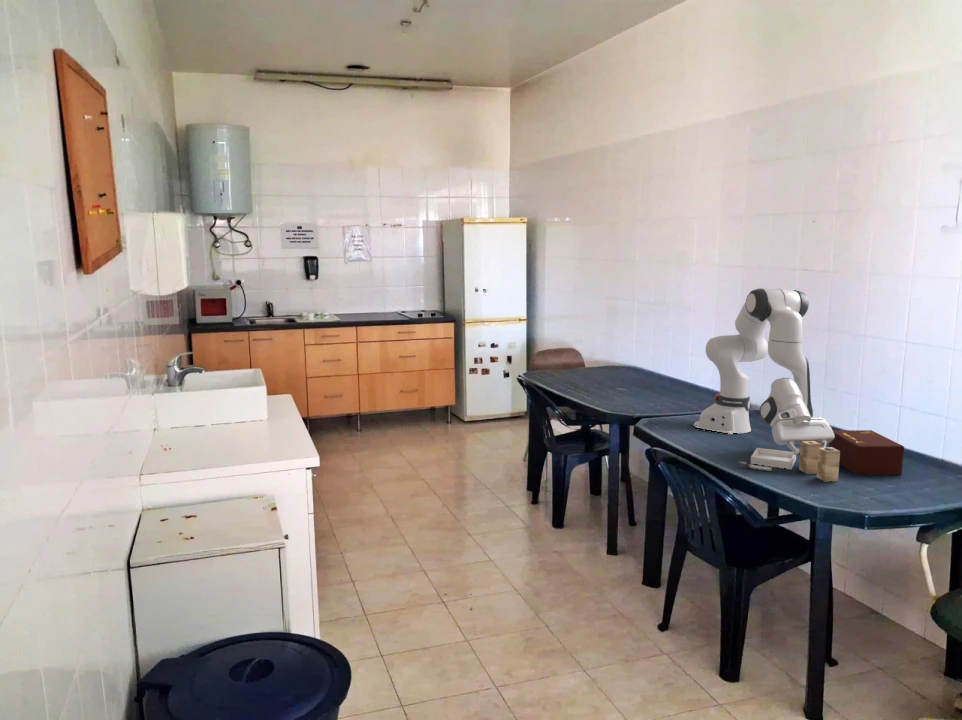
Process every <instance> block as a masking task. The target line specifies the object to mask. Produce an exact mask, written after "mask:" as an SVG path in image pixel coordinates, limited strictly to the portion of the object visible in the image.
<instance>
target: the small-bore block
mask: <svg viewBox="0 0 962 720" xmlns="http://www.w3.org/2000/svg"><path fill="white" fill-rule="evenodd" d="M819 448H822V446H821V444H820V443H818V442H816V441H801V444H800V448H799V450H800V452H801V453H800V454H799V466H798V467H799V468H798V470H799V471H800V470H801V472H803V473H804V474H806V475H810V474H817V468H818V454H819Z"/></svg>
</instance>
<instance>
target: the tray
mask: <svg viewBox="0 0 962 720" xmlns="http://www.w3.org/2000/svg"><path fill="white" fill-rule="evenodd" d="M796 460H797V455H794V453H793V451H786V450H779V449H778V450H777V449H771V448H763V447H756V448H755V450H754V452H753V453H752V454H751V456H750V465H754V464H758V465H757V466H762V465H764V467H769V466H770V467H772V468H777V467H778V469H784V468H786V470H792V469H793V467H794V465H795V462H796Z"/></svg>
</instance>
